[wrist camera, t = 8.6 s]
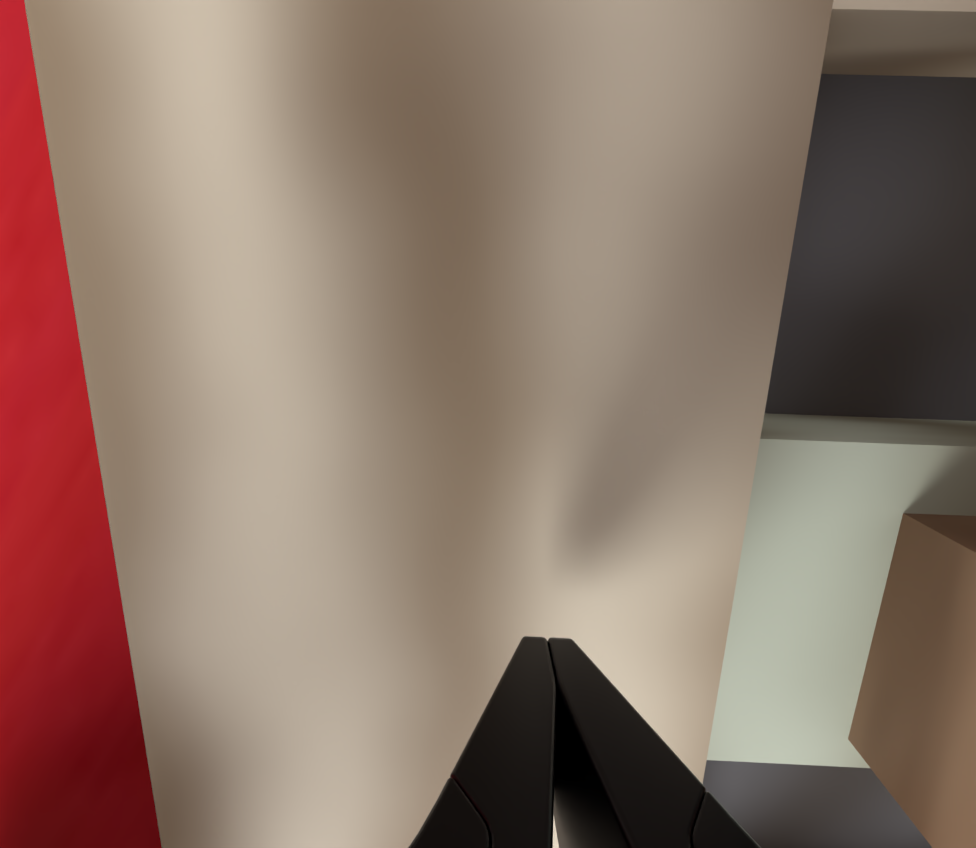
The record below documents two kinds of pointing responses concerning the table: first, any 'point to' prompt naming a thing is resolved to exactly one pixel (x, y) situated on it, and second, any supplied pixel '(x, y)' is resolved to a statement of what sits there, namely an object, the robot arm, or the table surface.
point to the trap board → (512, 378)
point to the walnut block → (925, 680)
